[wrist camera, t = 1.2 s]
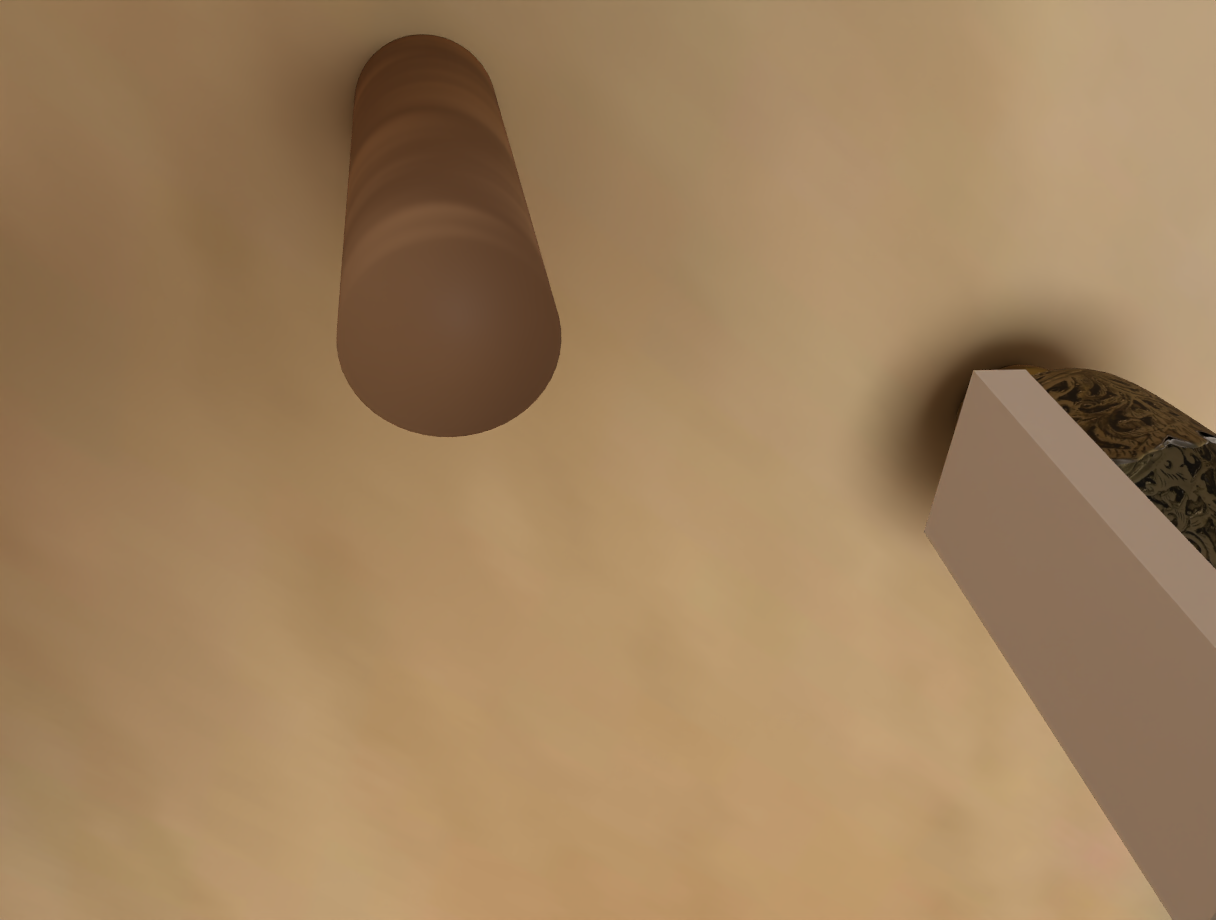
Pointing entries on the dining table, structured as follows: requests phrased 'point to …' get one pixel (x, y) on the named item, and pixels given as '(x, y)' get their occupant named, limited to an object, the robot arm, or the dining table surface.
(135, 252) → the dining table surface
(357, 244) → the walnut peg
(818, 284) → the dining table surface
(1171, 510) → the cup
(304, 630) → the dining table surface
